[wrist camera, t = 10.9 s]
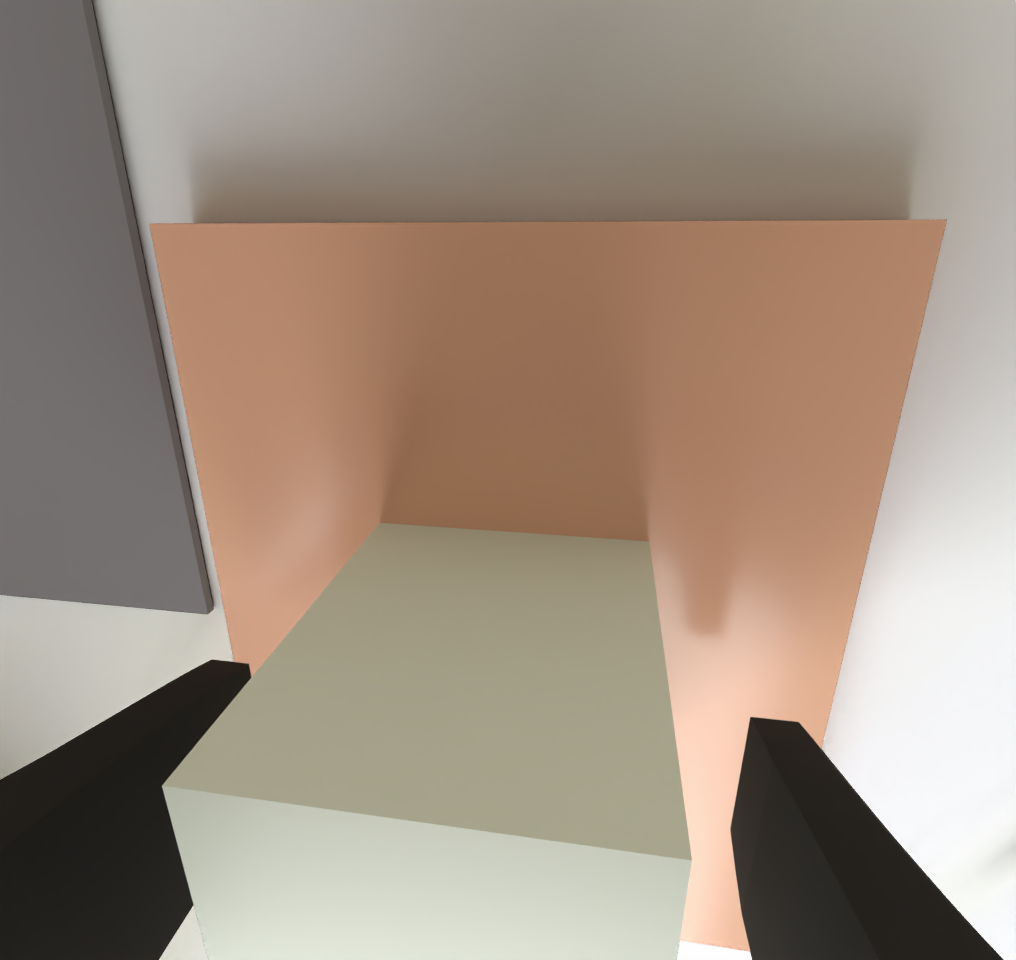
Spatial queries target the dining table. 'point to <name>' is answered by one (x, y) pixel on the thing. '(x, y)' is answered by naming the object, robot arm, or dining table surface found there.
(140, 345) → the mat
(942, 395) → the dining table surface
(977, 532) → the dining table surface
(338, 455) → the plate
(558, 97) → the dining table surface
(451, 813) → the sage block
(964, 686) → the dining table surface
